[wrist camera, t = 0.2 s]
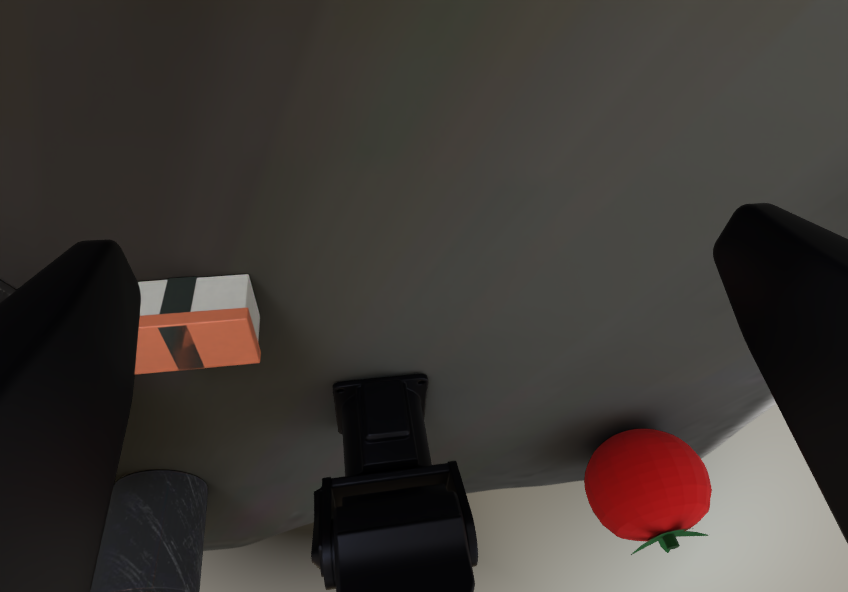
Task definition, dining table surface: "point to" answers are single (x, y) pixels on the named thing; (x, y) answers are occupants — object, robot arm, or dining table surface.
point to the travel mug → (153, 534)
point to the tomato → (648, 487)
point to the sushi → (197, 324)
